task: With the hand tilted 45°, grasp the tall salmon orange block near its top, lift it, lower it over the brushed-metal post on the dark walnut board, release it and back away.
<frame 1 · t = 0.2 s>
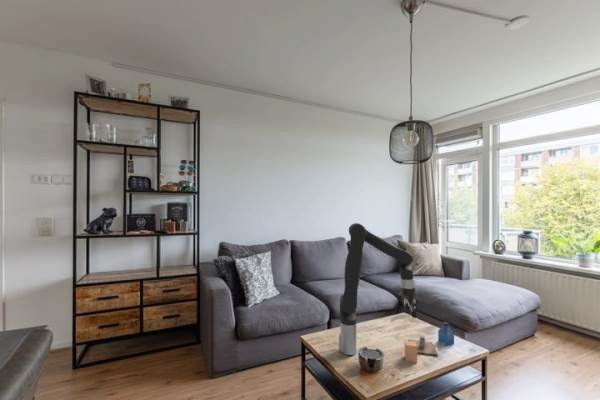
hand: (410, 314, 160), 23 cm above the table, tool pointing down, fingers open, 8 cm apart
walnut post board: (422, 348, 166), on the table
salmon orange block: (410, 359, 155), on the table
perfume bottle: (446, 342, 173), on the table
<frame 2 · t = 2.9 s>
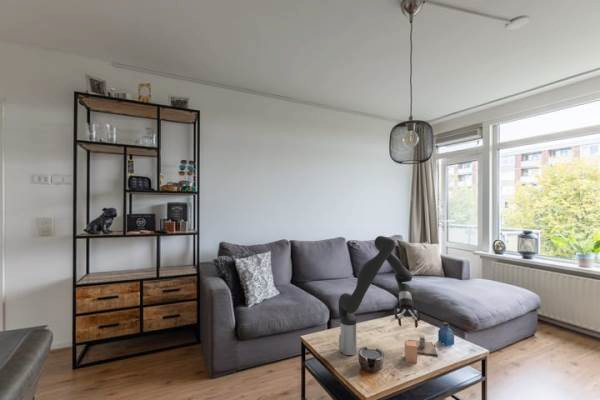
hand: (408, 326, 163), 14 cm above the table, tool tilted 45°, fingers open, 8 cm apart
nothing on the table moved.
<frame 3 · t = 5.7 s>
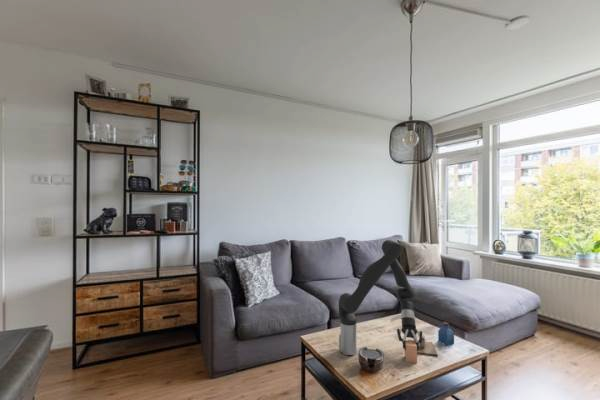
hand: (411, 349, 153), 6 cm above the table, tool tilted 45°, fingers closed on salmon orange block, 5 cm apart
salmon orange block: (410, 359, 155), on the table, touching gripper
everything else where it was.
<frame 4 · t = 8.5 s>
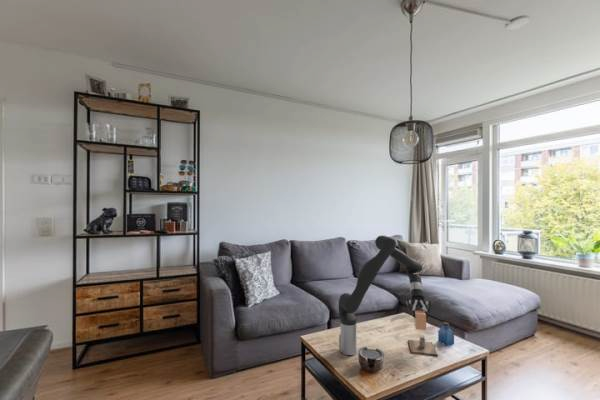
hand: (420, 318, 161), 20 cm above the table, tool tilted 45°, fingers closed on salmon orange block, 5 cm apart
salmon orange block: (420, 327, 163), point 14 cm above the table, touching gripper
everything else where it was.
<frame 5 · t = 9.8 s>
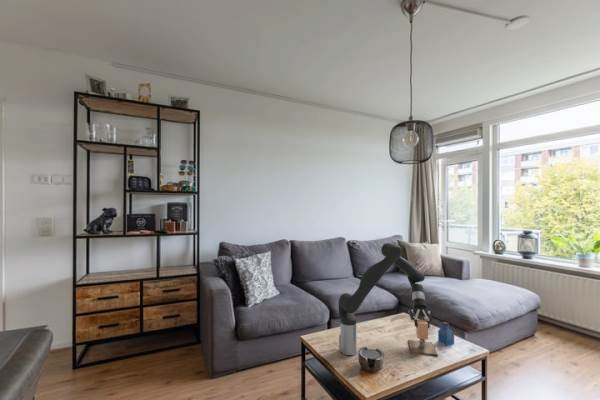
hand: (422, 327, 165), 13 cm above the table, tool tilted 45°, fingers closed on salmon orange block, 5 cm apart
salmon orange block: (422, 336, 166), point 7 cm above the table, touching gripper
everything else where it was.
when the fingers open (9 cm above the table, at t = 11.2 s): salmon orange block drops 1 cm, resting on walnut post board.
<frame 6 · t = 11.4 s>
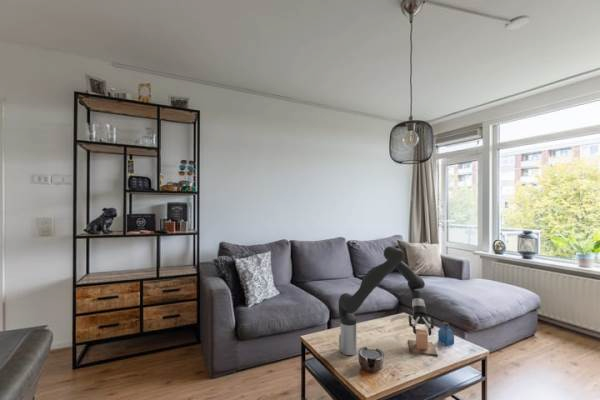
hand: (422, 334, 165), 9 cm above the table, tool tilted 45°, fingers open, 7 cm apart
salmon orange block: (421, 346, 166), point 1 cm above the table, touching walnut post board
everything else where it was.
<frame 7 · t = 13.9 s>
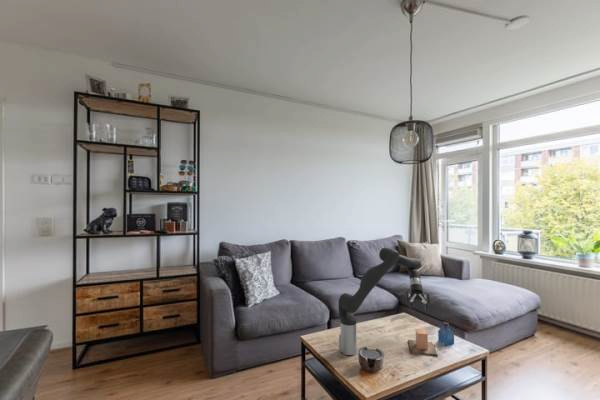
hand: (419, 309, 177), 19 cm above the table, tool tilted 45°, fingers open, 8 cm apart
nothing on the table moved.
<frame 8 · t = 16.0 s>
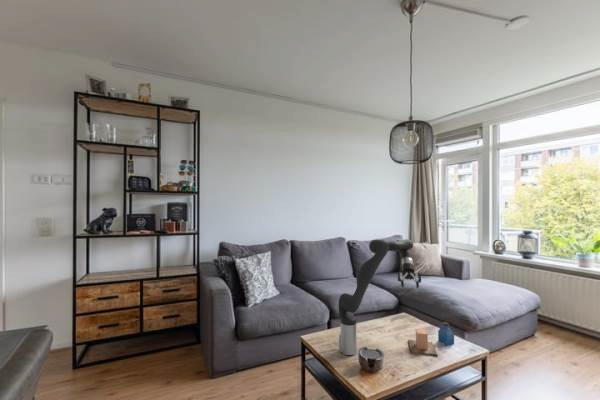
hand: (410, 287, 178), 33 cm above the table, tool tilted 45°, fingers open, 8 cm apart
nothing on the table moved.
at the end: salmon orange block 0.3 cm from the walnut post board (horizontally); salmon orange block point 1.0 cm above the table; the gripper is holding nothing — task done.
